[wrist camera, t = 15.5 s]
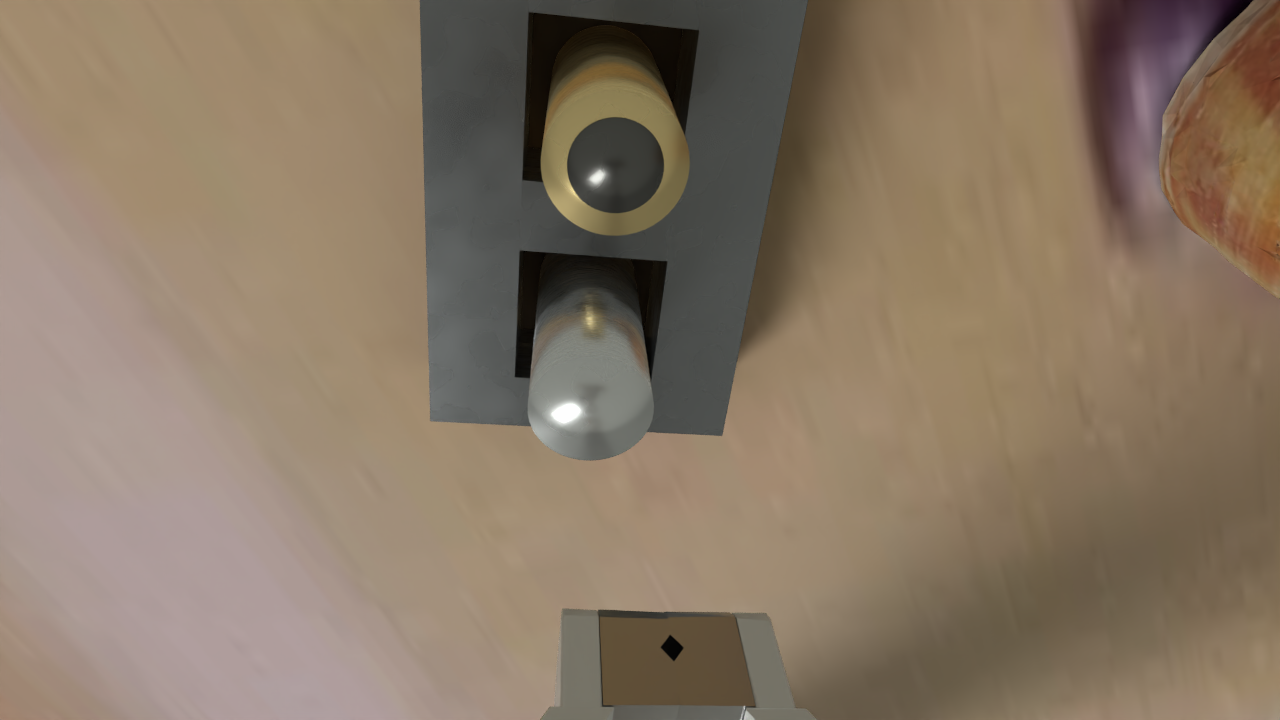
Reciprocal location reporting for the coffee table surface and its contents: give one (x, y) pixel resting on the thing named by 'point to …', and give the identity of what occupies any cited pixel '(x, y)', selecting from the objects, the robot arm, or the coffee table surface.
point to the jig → (582, 260)
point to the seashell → (1230, 145)
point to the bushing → (611, 135)
